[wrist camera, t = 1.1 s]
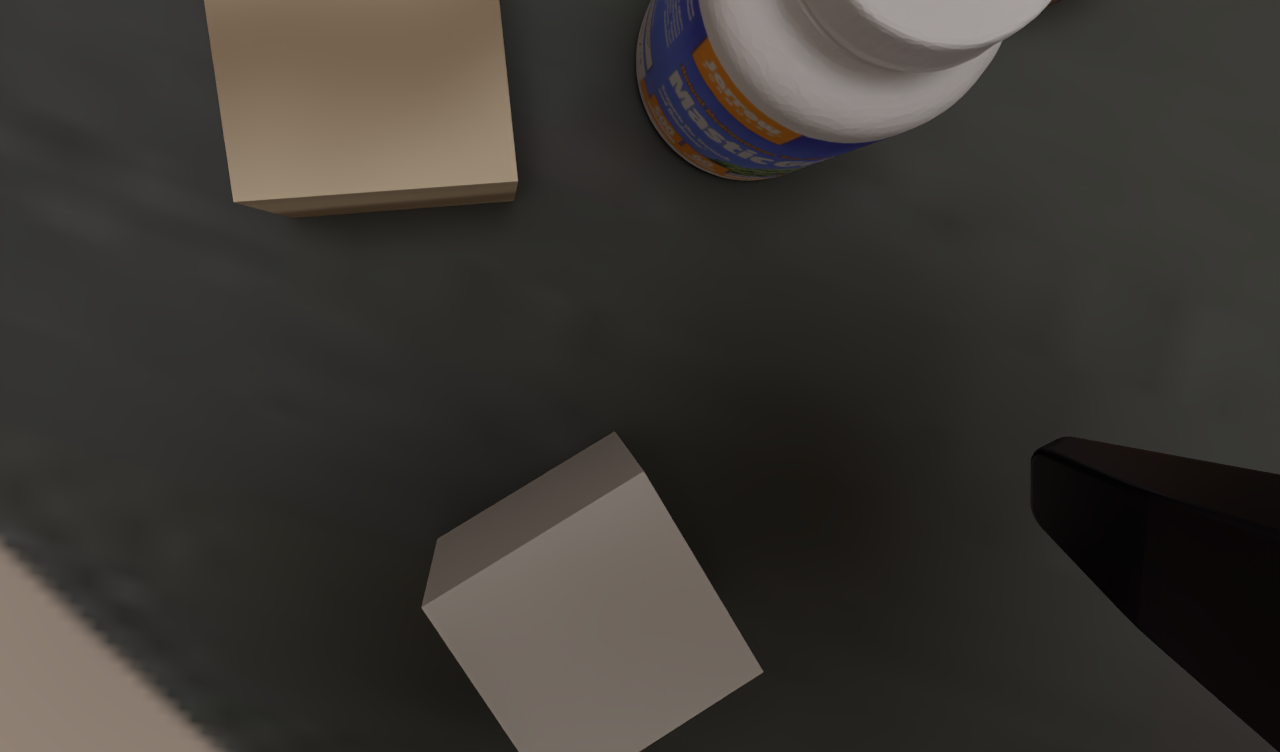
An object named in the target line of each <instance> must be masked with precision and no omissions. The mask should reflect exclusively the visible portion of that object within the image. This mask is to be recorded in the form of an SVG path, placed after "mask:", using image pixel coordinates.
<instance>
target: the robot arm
mask: <svg viewBox="0 0 1280 752" xmlns="http://www.w3.org/2000/svg"><path fill="white" fill-rule="evenodd" d="M1031 509H1032V513H1033V515H1034V517H1035V519H1036V521H1037V522H1038V524H1039V525H1040V526H1041V528H1042V529H1043V530H1044V531H1045V532H1046V533H1047V534H1048V535H1049V536H1050V537H1051V538H1052V539H1053V540H1054V541H1055V542H1056V543H1057V545H1058V546H1059V547H1060V548H1061V549H1062V550H1063V551H1064V552H1065V553H1066V554H1067V555H1068V556H1069V557H1070V558H1071V559H1072V560H1073V561H1074V562H1075V563H1076V565H1077V566H1078V567H1079V568H1080V569H1081V570H1082V571H1083V572H1084V573H1085V574H1086V575H1087V576H1088V577H1089V578H1090V579H1091V580H1092V581H1093V582H1094V584H1095V585H1096V586H1097V587H1098V588H1099V589H1100V590H1101V591H1102V592H1103V593H1104V594H1105V595H1106V596H1107V597H1108V598H1109V599H1110V600H1111V601H1112V603H1113V604H1114V605H1115V606H1116V607H1117V608H1118V609H1119V610H1120V611H1121V612H1122V613H1123V614H1124V615H1125V616H1126V617H1127V618H1128V619H1129V620H1130V621H1131V622H1132V623H1133V624H1134V625H1135V626H1136V627H1137V628H1138V629H1139V630H1140V631H1142V632H1143V633H1144V634H1145V635H1146V636H1147V637H1148V638H1149V639H1150V640H1151V641H1152V642H1154V643H1155V644H1156V645H1157V646H1158V647H1159V648H1160V649H1162V650H1163V651H1164V652H1165V653H1166V654H1167V655H1168V656H1170V657H1171V658H1172V659H1173V660H1174V661H1175V662H1176V663H1178V664H1179V665H1180V666H1181V667H1182V668H1183V669H1184V670H1186V671H1187V672H1188V673H1189V674H1190V675H1191V676H1192V677H1194V678H1195V679H1196V680H1197V681H1198V682H1199V683H1200V684H1202V685H1203V686H1204V687H1205V688H1206V689H1207V690H1208V691H1210V692H1211V693H1212V694H1213V695H1214V696H1215V697H1216V698H1218V699H1219V700H1220V701H1221V702H1222V703H1223V704H1224V705H1226V706H1227V707H1228V708H1229V709H1230V710H1231V711H1232V712H1234V713H1235V714H1236V715H1237V716H1238V717H1239V718H1240V719H1242V720H1243V721H1244V722H1245V723H1246V724H1247V725H1248V726H1250V727H1251V728H1252V729H1253V730H1254V731H1255V732H1257V733H1258V734H1259V735H1260V736H1261V737H1262V738H1263V739H1265V740H1266V741H1267V742H1268V743H1269V744H1270V745H1271V746H1273V747H1274V748H1275V749H1276V750H1277V751H1278V752H1280V475H1279V474H1274V473H1268V472H1263V471H1257V470H1252V469H1246V468H1241V467H1235V466H1230V465H1224V464H1219V463H1213V462H1208V461H1202V460H1197V459H1191V458H1186V457H1180V456H1175V455H1169V454H1164V453H1158V452H1153V451H1147V450H1142V449H1136V448H1131V447H1125V446H1120V445H1114V444H1109V443H1103V442H1098V441H1092V440H1086V439H1081V438H1075V437H1062V438H1059V439H1056V440H1054V441H1053V442H1051V443H1049V444H1047V445H1045V446H1043V447H1041V448H1039V449H1037V450H1036V451H1035V452H1034V454H1033V456H1032V458H1031Z"/></svg>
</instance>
